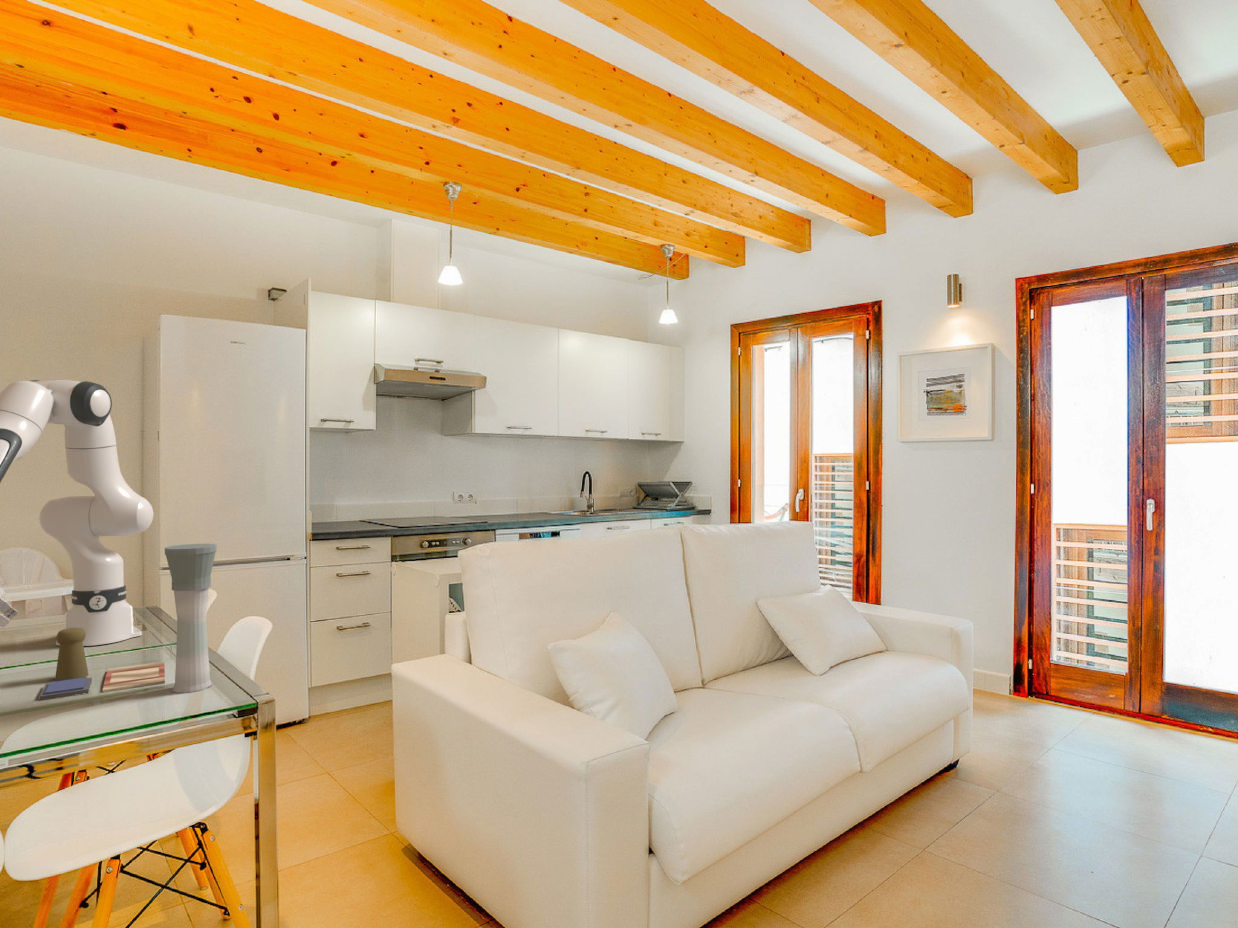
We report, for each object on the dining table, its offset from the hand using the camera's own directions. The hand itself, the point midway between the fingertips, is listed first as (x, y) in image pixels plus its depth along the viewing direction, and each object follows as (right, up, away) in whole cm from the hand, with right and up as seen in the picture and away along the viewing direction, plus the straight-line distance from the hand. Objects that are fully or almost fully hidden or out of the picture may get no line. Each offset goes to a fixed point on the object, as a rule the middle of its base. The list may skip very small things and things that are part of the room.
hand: (11, 619), depth 156 cm
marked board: (+23, -14, +5) cm, 28 cm away
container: (+41, -14, -3) cm, 43 cm away
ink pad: (+15, -14, -4) cm, 21 cm away
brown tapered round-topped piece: (+9, -14, +6) cm, 18 cm away
